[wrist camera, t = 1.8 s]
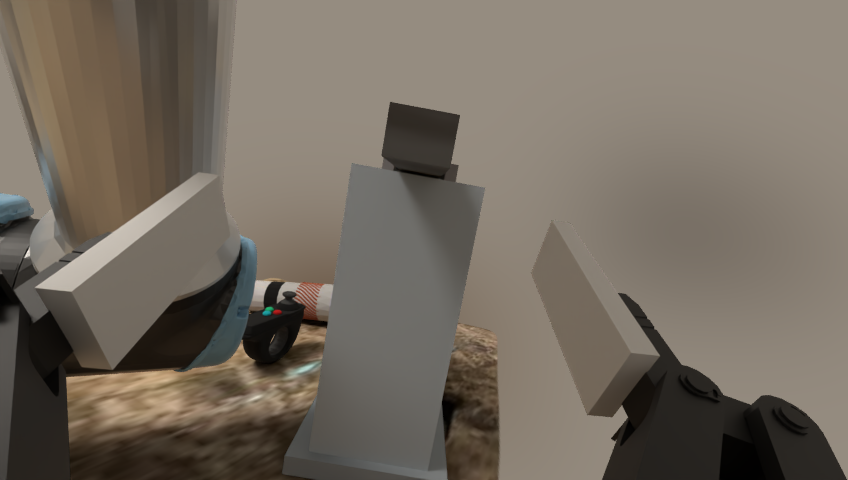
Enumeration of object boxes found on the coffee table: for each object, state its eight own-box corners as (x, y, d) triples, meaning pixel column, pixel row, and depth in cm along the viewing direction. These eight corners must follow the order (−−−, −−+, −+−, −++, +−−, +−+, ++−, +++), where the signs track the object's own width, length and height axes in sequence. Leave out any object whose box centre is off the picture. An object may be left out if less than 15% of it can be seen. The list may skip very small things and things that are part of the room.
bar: (450, 168, 20) (459, 115, 20) (381, 155, 20) (390, 101, 20) (436, 180, 46) (440, 157, 46) (406, 175, 46) (410, 152, 46)
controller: (304, 350, 58) (312, 292, 57) (243, 384, 47) (252, 313, 45) (283, 342, 60) (290, 286, 58) (219, 374, 48) (226, 304, 47)
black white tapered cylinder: (234, 321, 74) (247, 274, 77) (395, 338, 72) (401, 288, 75) (204, 315, 64) (221, 261, 68) (389, 333, 62) (396, 277, 66)
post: (443, 500, 35) (513, 174, 30) (282, 473, 34) (328, 140, 30) (436, 380, 56) (476, 181, 52) (338, 363, 56) (369, 161, 52)
